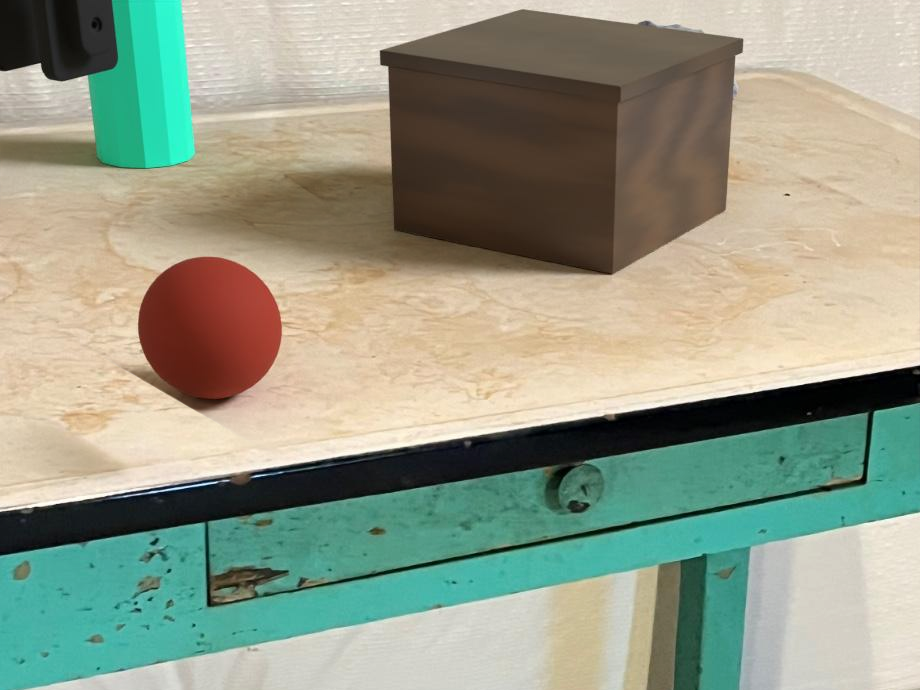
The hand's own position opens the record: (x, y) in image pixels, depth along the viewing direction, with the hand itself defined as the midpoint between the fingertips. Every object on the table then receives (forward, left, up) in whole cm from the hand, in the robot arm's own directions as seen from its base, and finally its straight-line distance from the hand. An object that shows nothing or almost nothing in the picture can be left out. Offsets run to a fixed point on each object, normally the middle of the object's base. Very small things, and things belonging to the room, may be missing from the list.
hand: (53, 65), depth 61 cm
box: (+30, +23, -15) cm, 41 cm away
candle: (+10, +44, -15) cm, 48 cm away
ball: (+6, +4, -12) cm, 14 cm away
